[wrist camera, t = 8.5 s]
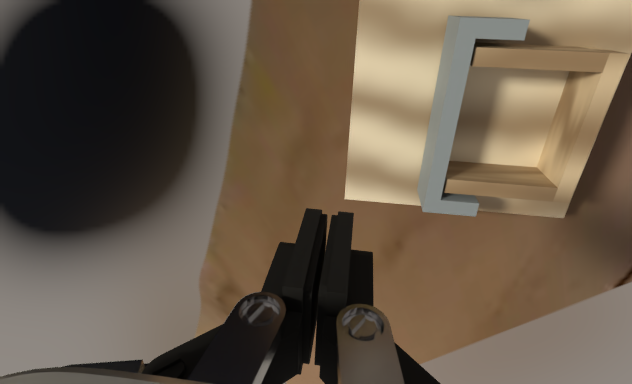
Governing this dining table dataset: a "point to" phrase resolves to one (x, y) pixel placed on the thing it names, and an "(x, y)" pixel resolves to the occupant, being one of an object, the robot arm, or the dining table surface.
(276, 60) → the dining table surface
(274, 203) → the dining table surface
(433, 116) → the grey bracket
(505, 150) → the board
